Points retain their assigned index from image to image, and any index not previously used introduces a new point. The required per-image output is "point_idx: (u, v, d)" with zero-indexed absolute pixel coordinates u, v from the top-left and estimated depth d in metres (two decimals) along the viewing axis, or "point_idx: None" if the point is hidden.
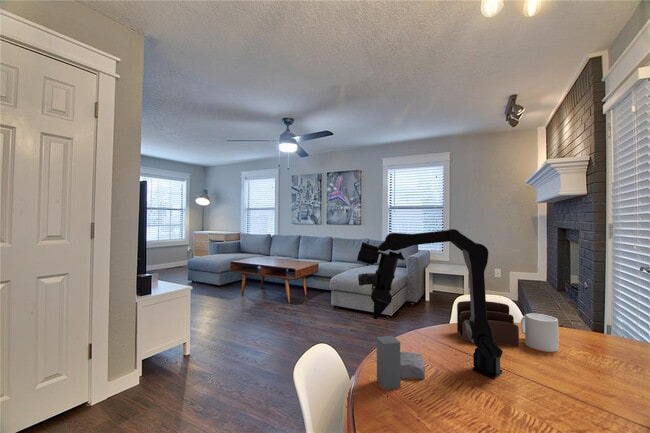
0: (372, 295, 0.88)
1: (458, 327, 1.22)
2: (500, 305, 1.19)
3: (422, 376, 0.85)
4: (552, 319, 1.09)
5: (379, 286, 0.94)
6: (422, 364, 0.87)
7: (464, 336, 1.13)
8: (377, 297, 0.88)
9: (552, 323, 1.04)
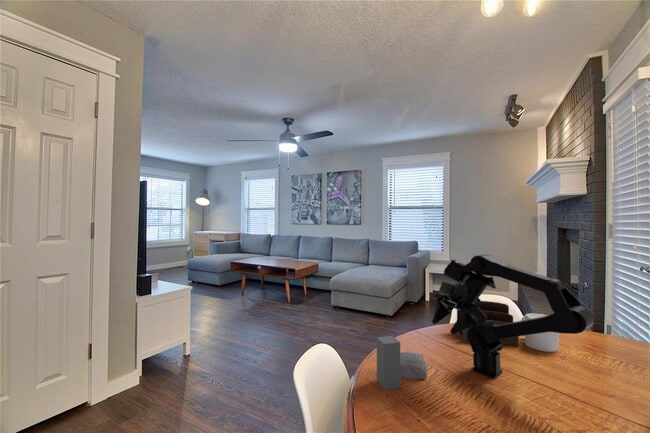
0: (472, 310, 0.82)
1: None
2: (500, 305, 1.19)
3: (424, 376, 0.85)
4: None
5: (464, 303, 0.89)
6: (424, 364, 0.87)
7: (464, 336, 1.14)
8: (476, 314, 0.82)
9: None
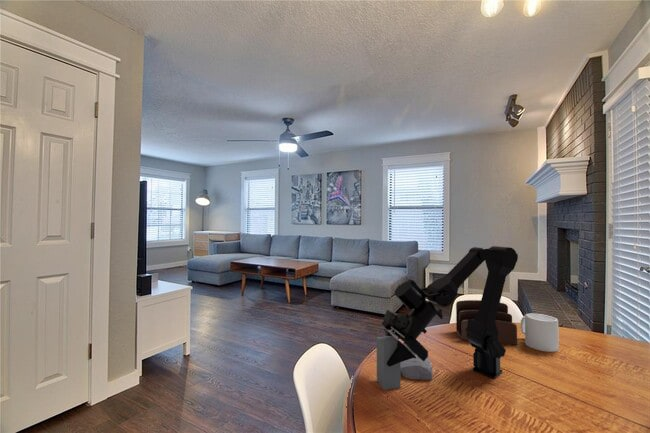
0: (411, 345, 0.75)
1: (457, 326, 1.23)
2: (499, 304, 1.20)
3: (430, 377, 0.85)
4: (552, 319, 1.09)
5: (408, 335, 0.82)
6: (430, 365, 0.86)
7: (463, 335, 1.14)
8: (416, 350, 0.75)
9: (552, 323, 1.04)
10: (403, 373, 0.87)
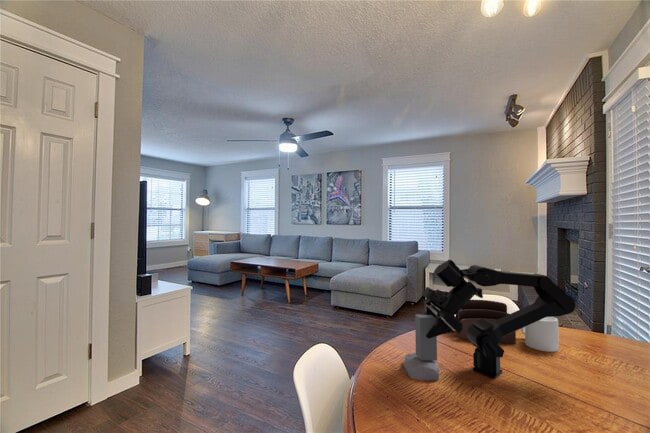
0: (445, 317, 0.82)
1: None
2: (498, 304, 1.21)
3: (436, 377, 0.84)
4: (552, 319, 1.09)
5: (446, 310, 0.88)
6: (436, 365, 0.86)
7: (462, 334, 1.16)
8: (450, 321, 0.81)
9: (552, 323, 1.04)
10: (409, 374, 0.86)
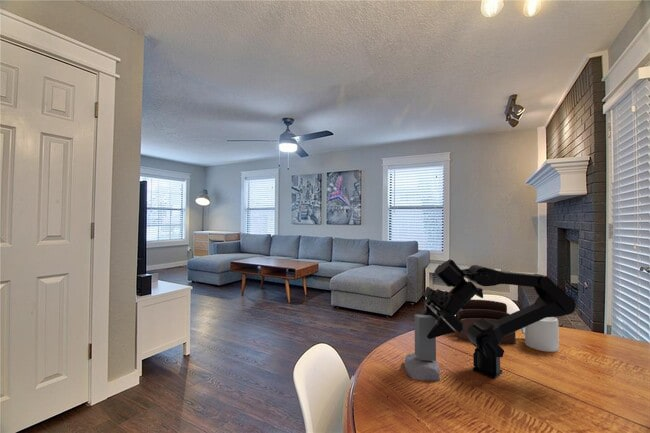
0: (446, 317, 0.82)
1: None
2: (498, 303, 1.21)
3: (437, 378, 0.84)
4: (552, 319, 1.09)
5: (446, 309, 0.88)
6: (437, 365, 0.86)
7: (461, 334, 1.16)
8: (450, 321, 0.81)
9: (552, 323, 1.04)
10: (410, 374, 0.86)
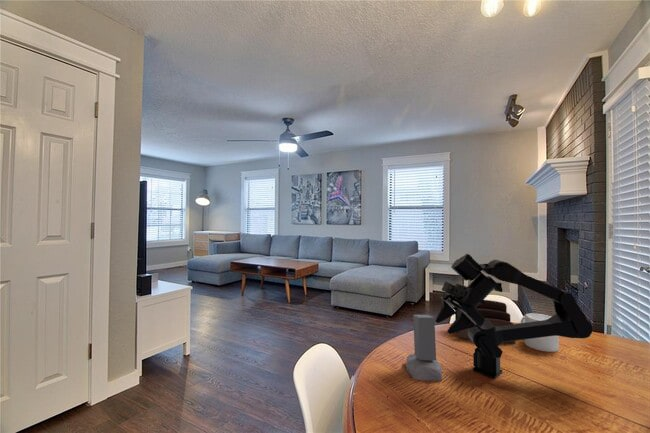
0: (468, 311, 0.81)
1: None
2: (497, 303, 1.21)
3: (439, 378, 0.84)
4: None
5: (466, 304, 0.88)
6: (439, 366, 0.86)
7: (461, 333, 1.16)
8: (472, 315, 0.81)
9: None
10: (412, 374, 0.86)
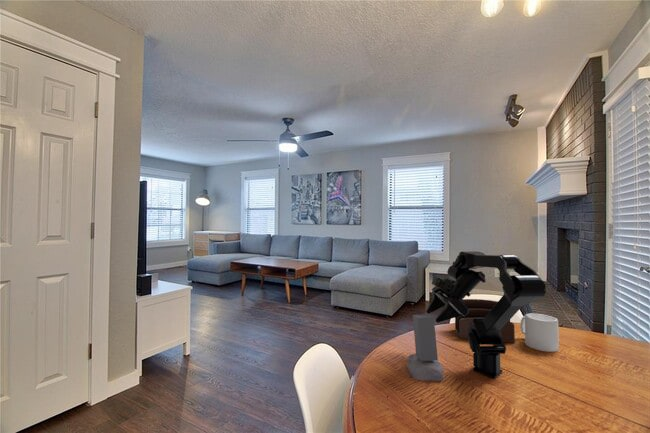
0: (453, 302, 0.91)
1: (456, 325, 1.25)
2: None
3: (440, 378, 0.84)
4: (552, 319, 1.09)
5: (453, 296, 0.97)
6: (440, 366, 0.86)
7: (461, 333, 1.16)
8: (457, 306, 0.91)
9: (552, 323, 1.04)
10: (413, 375, 0.86)
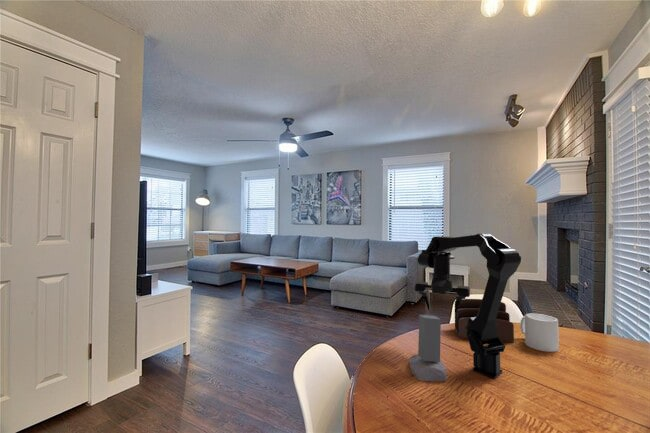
0: (468, 294, 1.01)
1: (455, 324, 1.26)
2: None
3: (444, 378, 0.84)
4: (552, 319, 1.09)
5: None
6: (443, 366, 0.86)
7: (460, 332, 1.17)
8: (469, 294, 1.02)
9: (552, 323, 1.04)
10: (417, 375, 0.85)
